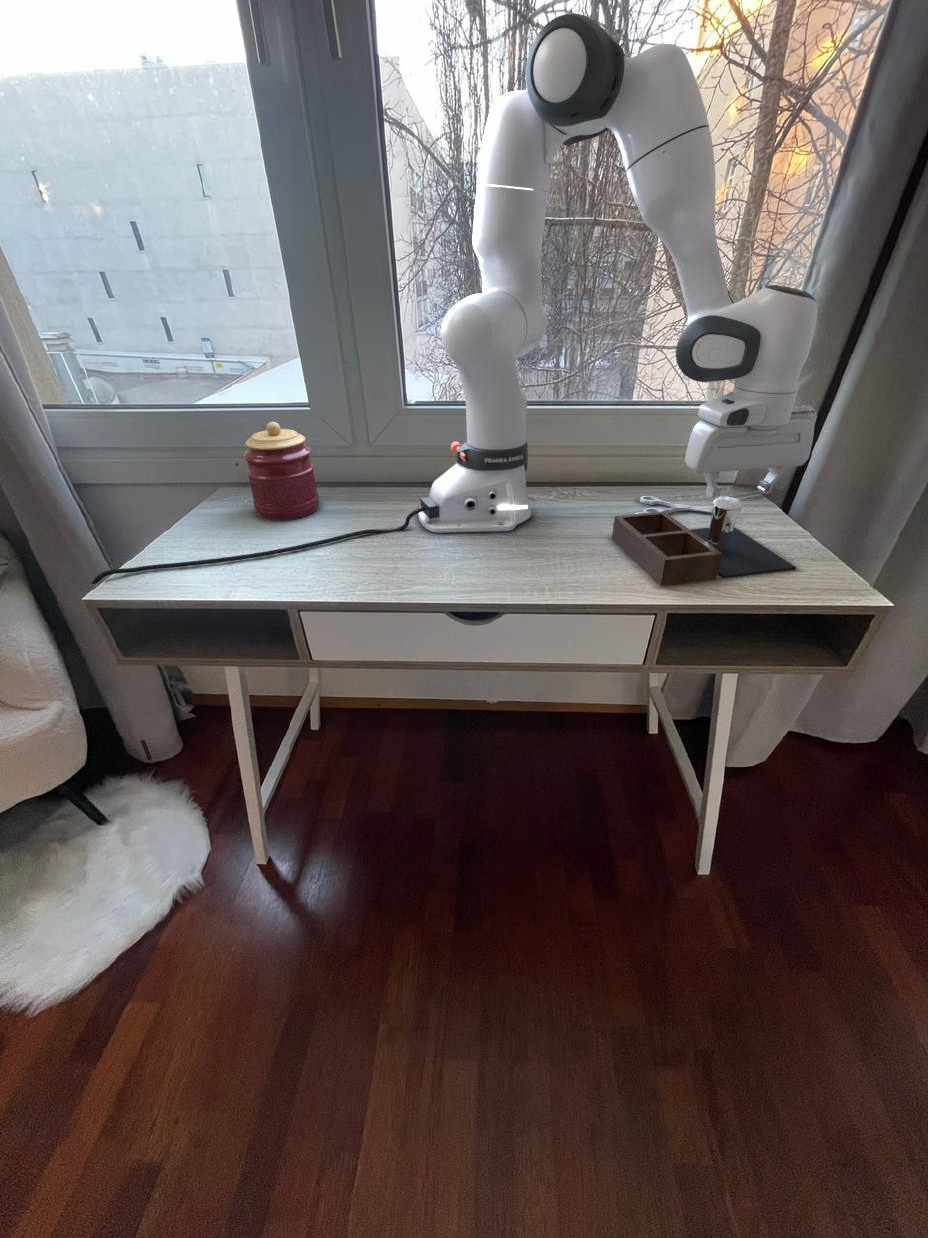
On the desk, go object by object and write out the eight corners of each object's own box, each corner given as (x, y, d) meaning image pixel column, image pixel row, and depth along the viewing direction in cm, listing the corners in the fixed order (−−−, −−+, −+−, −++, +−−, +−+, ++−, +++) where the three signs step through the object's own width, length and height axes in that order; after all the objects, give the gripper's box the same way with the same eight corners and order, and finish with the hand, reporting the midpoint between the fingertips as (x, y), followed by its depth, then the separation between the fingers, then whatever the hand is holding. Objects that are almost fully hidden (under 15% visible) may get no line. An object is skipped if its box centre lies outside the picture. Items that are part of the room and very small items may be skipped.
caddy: (660, 586, 91) (665, 560, 89) (611, 539, 107) (614, 516, 104) (716, 579, 93) (722, 553, 91) (660, 534, 108) (664, 511, 106)
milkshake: (728, 544, 103) (744, 488, 98) (730, 555, 99) (746, 498, 94) (701, 540, 105) (715, 485, 99) (701, 551, 100) (716, 494, 95)
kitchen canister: (311, 521, 117) (296, 430, 107) (246, 521, 117) (226, 430, 108) (326, 498, 128) (313, 413, 118) (266, 498, 128) (249, 414, 119)
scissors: (632, 495, 123) (734, 499, 120) (632, 498, 124) (733, 503, 120) (634, 513, 115) (744, 519, 111) (634, 517, 115) (743, 523, 111)
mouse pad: (723, 578, 93) (723, 576, 93) (666, 533, 108) (667, 531, 108) (795, 569, 95) (796, 567, 95) (730, 527, 110) (731, 525, 110)
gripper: (805, 400, 94) (781, 483, 102) (689, 406, 91) (672, 492, 98) (834, 409, 89) (806, 496, 97) (712, 415, 86) (692, 506, 93)
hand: (737, 494), depth 97 cm, fingers open, 8 cm apart
